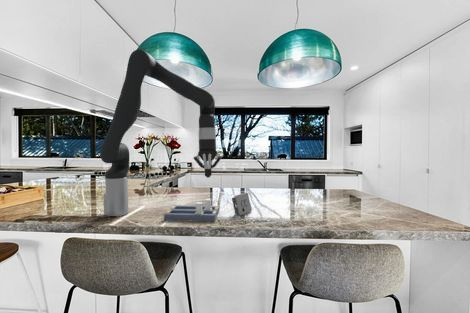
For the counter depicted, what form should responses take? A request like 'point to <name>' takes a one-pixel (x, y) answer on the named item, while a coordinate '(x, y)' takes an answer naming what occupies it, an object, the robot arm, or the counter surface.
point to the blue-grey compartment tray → (191, 213)
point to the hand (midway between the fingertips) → (208, 177)
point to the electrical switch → (241, 204)
